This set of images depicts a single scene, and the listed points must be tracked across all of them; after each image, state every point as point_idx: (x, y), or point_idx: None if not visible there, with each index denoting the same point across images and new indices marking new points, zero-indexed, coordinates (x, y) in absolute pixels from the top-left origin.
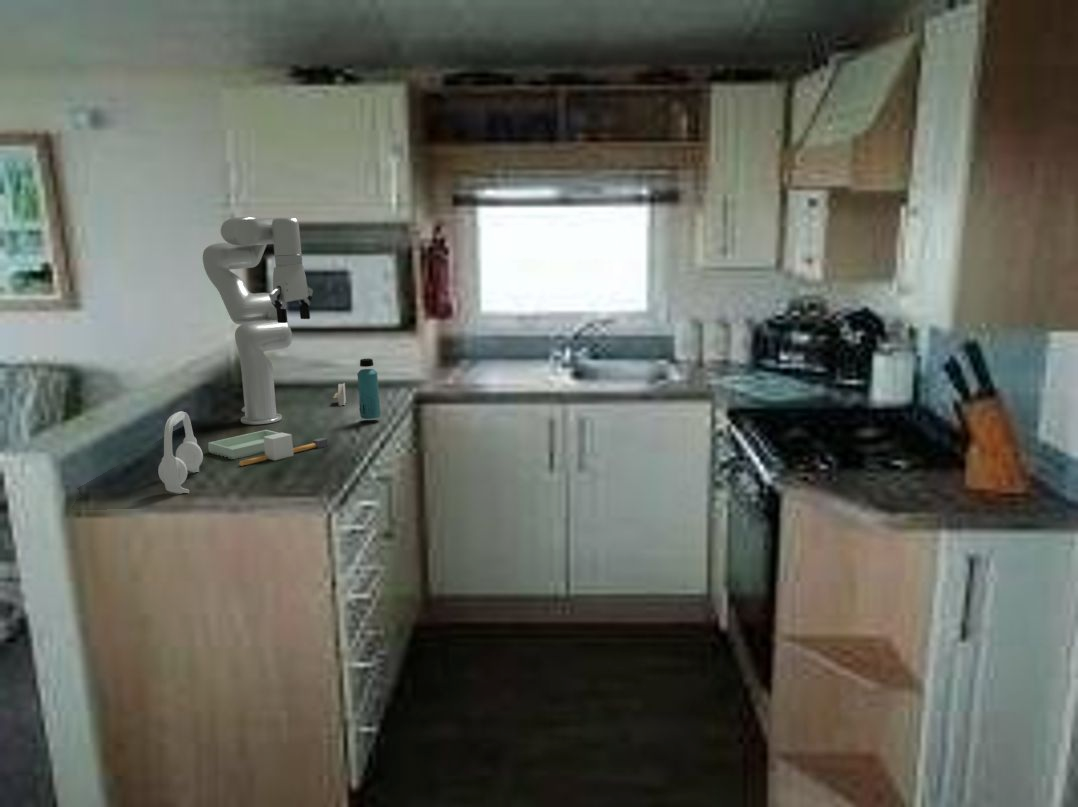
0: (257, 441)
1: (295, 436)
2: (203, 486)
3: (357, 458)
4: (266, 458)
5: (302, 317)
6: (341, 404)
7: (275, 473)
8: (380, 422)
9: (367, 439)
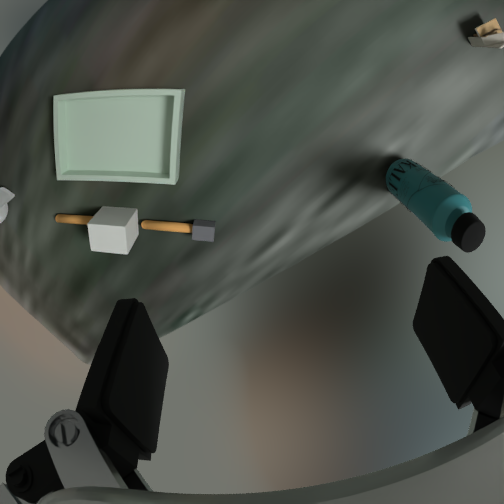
0: (147, 106)
1: (233, 123)
2: (9, 251)
3: (190, 315)
4: None
5: (428, 287)
6: (471, 42)
7: (80, 280)
8: None
9: (283, 259)
